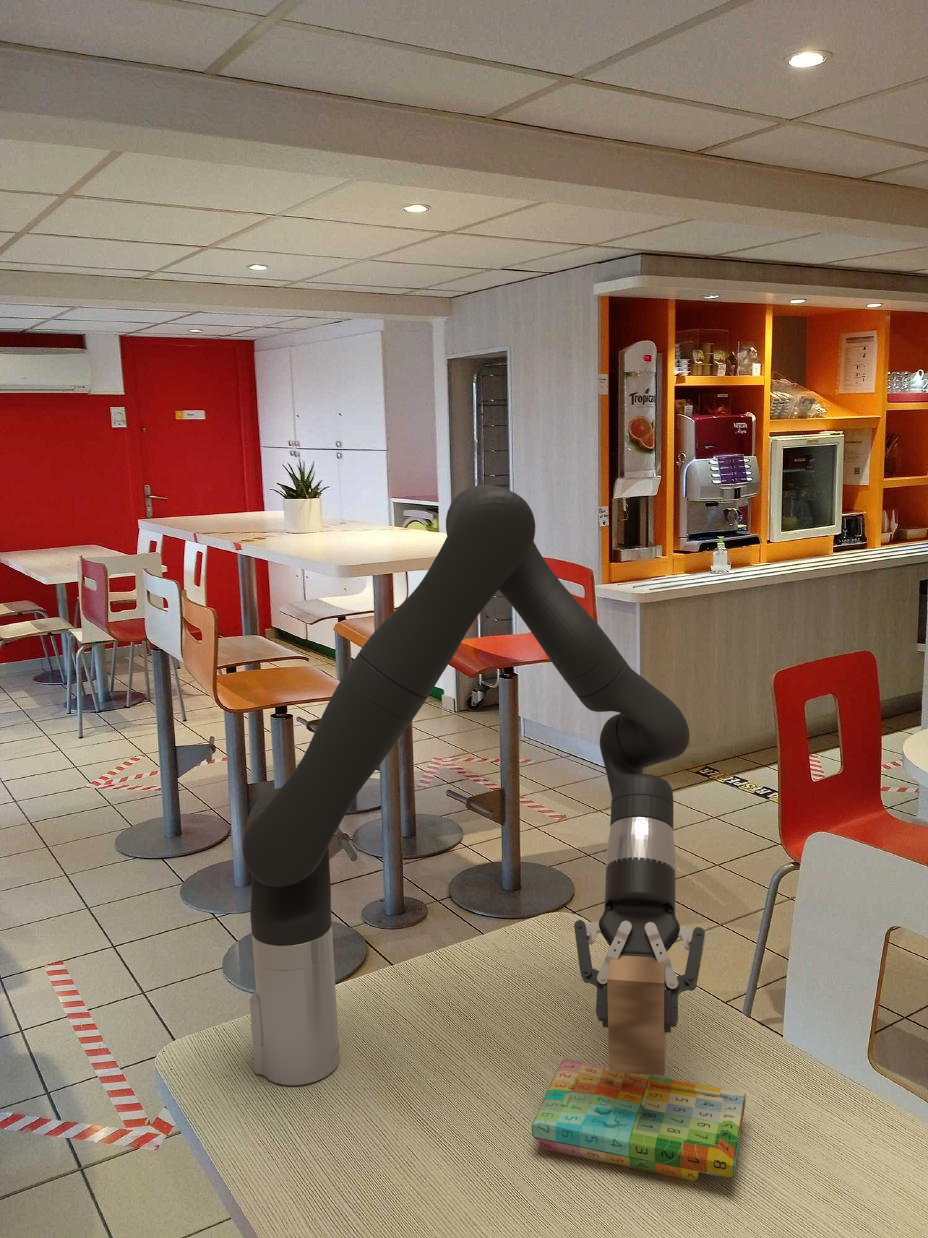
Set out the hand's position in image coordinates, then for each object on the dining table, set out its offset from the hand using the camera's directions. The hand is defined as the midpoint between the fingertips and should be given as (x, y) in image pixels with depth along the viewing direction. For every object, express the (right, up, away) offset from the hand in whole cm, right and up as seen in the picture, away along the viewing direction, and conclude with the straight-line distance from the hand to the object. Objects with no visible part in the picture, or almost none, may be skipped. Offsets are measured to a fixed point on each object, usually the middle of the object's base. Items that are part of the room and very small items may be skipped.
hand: (636, 1027), depth 104 cm
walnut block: (+1, -4, +3) cm, 5 cm away
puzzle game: (+1, -14, +4) cm, 14 cm away
